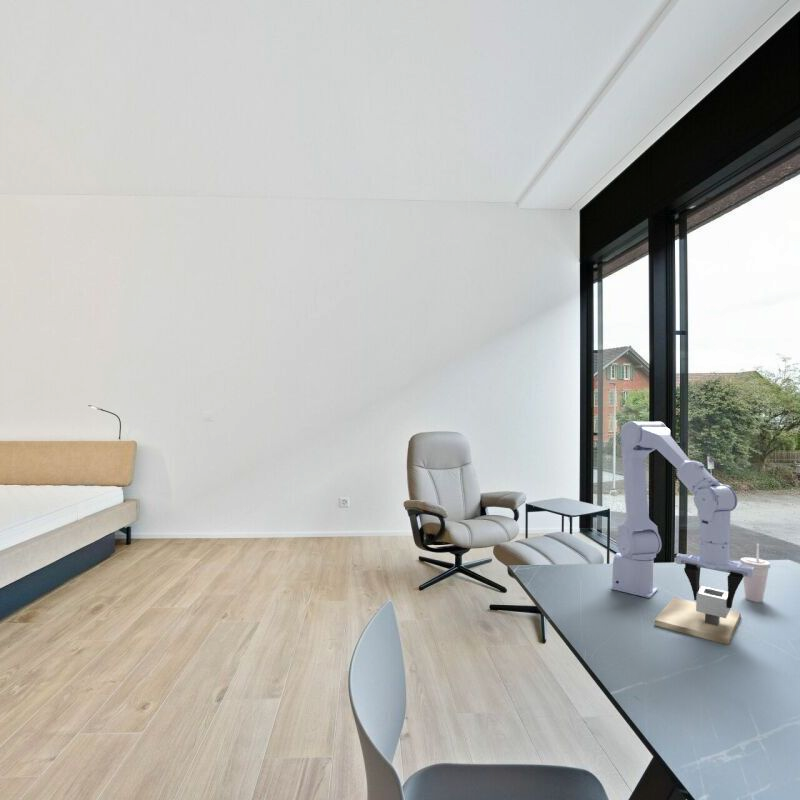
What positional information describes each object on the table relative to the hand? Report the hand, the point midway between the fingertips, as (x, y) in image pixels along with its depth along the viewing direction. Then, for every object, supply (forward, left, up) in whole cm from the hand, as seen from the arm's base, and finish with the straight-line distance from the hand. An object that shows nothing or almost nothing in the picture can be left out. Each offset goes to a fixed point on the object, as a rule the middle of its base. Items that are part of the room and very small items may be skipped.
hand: (712, 602), depth 117 cm
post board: (-3, +2, -6) cm, 7 cm away
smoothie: (+5, +27, -6) cm, 28 cm away
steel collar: (0, +1, -2) cm, 2 cm away
